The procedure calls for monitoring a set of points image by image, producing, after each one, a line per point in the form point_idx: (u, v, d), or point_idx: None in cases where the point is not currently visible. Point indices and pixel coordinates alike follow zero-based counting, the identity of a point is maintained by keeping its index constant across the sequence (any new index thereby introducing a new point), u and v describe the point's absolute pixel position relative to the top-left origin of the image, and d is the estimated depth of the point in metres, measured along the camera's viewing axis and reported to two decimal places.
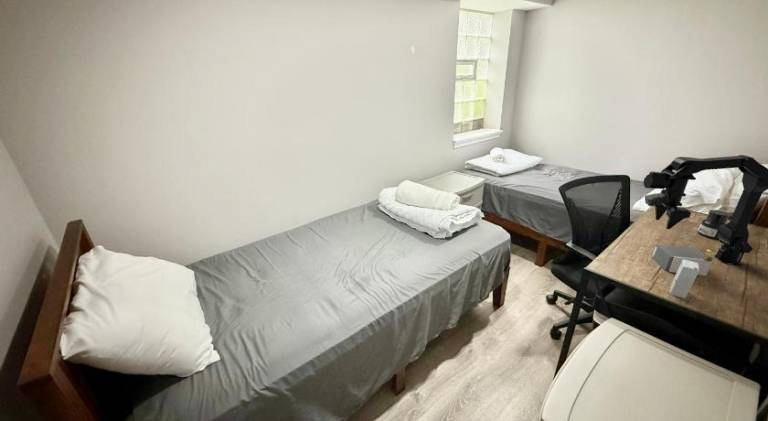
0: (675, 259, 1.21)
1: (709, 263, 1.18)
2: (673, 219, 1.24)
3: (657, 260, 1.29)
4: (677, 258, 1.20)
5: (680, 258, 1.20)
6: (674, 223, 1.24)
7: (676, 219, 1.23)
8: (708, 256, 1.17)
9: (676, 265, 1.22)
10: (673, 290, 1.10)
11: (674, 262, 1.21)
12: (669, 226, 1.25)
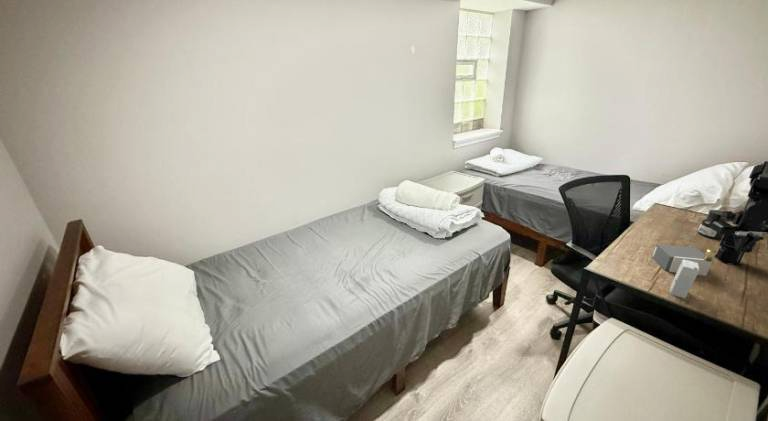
0: (675, 259, 1.21)
1: (709, 263, 1.18)
2: (738, 238, 1.13)
3: (657, 260, 1.29)
4: (677, 258, 1.20)
5: (680, 258, 1.20)
6: (738, 244, 1.13)
7: (740, 239, 1.12)
8: (708, 256, 1.17)
9: (676, 265, 1.22)
10: (673, 290, 1.10)
11: (674, 262, 1.21)
12: (735, 246, 1.14)
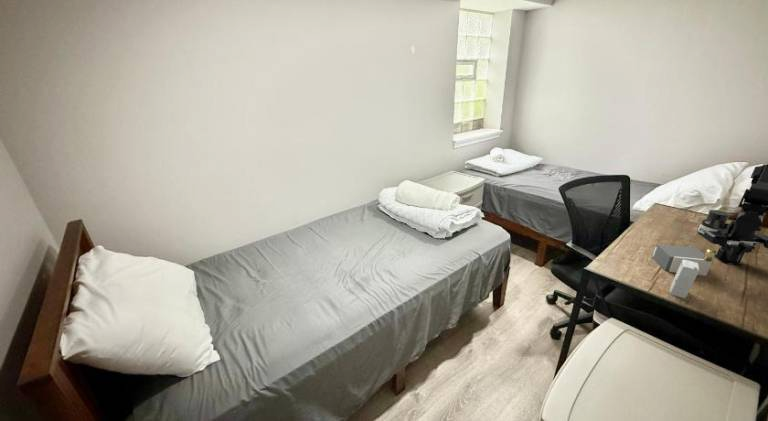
0: (675, 259, 1.21)
1: (709, 263, 1.18)
2: (730, 248, 1.15)
3: (657, 260, 1.29)
4: (677, 258, 1.20)
5: (680, 258, 1.20)
6: (730, 253, 1.15)
7: (731, 248, 1.14)
8: (708, 256, 1.17)
9: (676, 265, 1.22)
10: (673, 290, 1.10)
11: (674, 262, 1.21)
12: (727, 255, 1.16)
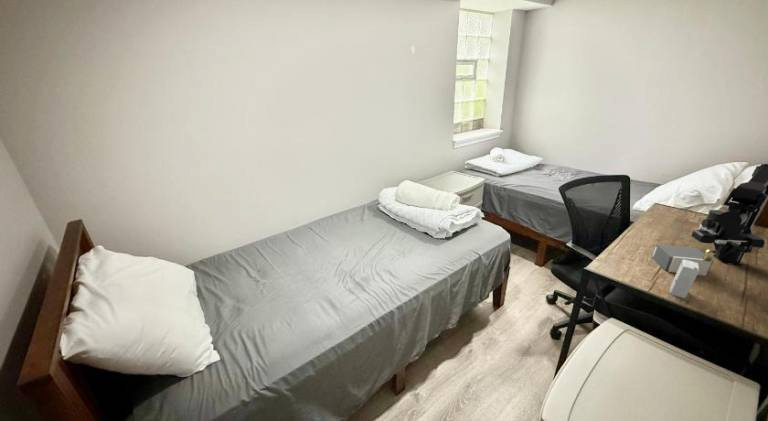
0: (674, 259, 1.21)
1: (708, 263, 1.18)
2: (718, 246, 1.16)
3: (657, 260, 1.29)
4: (676, 258, 1.20)
5: (679, 258, 1.20)
6: (718, 252, 1.15)
7: (720, 247, 1.15)
8: (707, 256, 1.17)
9: (675, 265, 1.22)
10: (673, 290, 1.10)
11: (673, 262, 1.21)
12: (716, 254, 1.17)
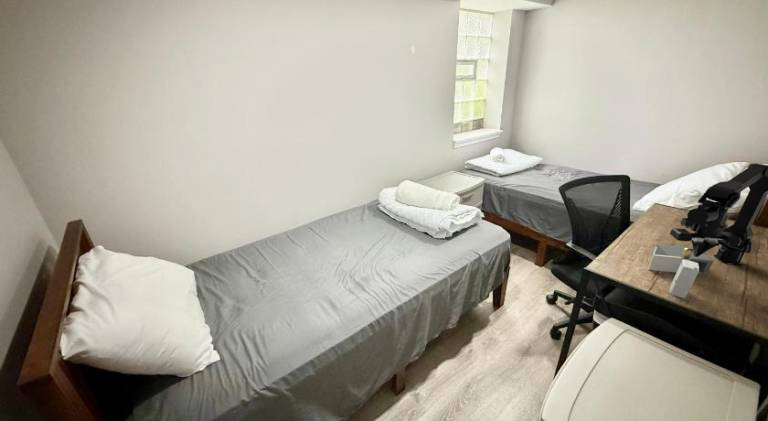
0: (654, 257, 1.22)
1: None
2: (696, 244, 1.17)
3: None
4: (655, 256, 1.22)
5: (658, 256, 1.22)
6: (696, 249, 1.17)
7: (697, 245, 1.16)
8: (685, 254, 1.19)
9: (655, 263, 1.23)
10: (673, 290, 1.10)
11: (653, 260, 1.23)
12: (694, 252, 1.19)
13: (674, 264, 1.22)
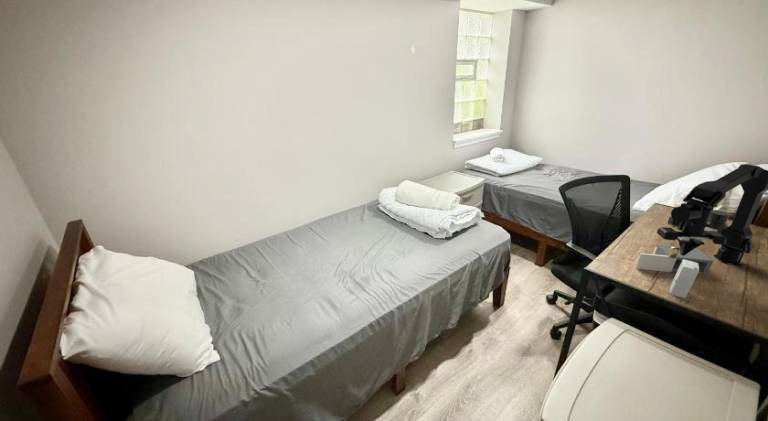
0: (641, 256, 1.23)
1: (673, 260, 1.21)
2: (682, 243, 1.18)
3: None
4: (643, 255, 1.23)
5: (646, 255, 1.23)
6: (682, 248, 1.18)
7: (683, 244, 1.17)
8: (672, 253, 1.20)
9: (642, 262, 1.24)
10: (673, 290, 1.10)
11: (640, 259, 1.24)
12: (680, 251, 1.20)
13: (661, 263, 1.23)
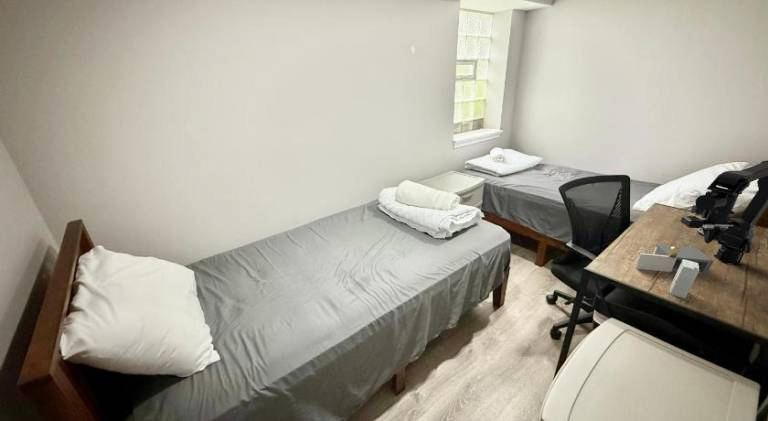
0: (641, 256, 1.23)
1: (673, 260, 1.21)
2: (707, 231, 1.20)
3: None
4: (643, 255, 1.23)
5: (645, 255, 1.23)
6: (707, 236, 1.19)
7: (708, 232, 1.19)
8: (671, 253, 1.20)
9: (642, 262, 1.24)
10: (673, 290, 1.10)
11: (640, 259, 1.24)
12: (705, 239, 1.21)
13: (661, 263, 1.23)
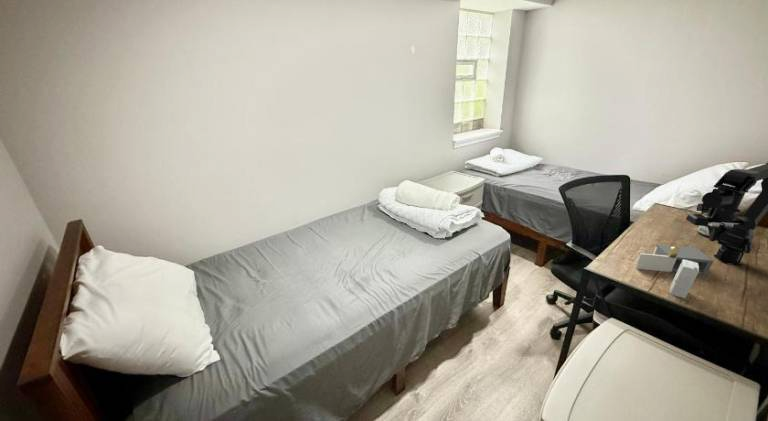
0: (641, 256, 1.23)
1: (673, 260, 1.21)
2: (712, 229, 1.20)
3: None
4: (643, 255, 1.23)
5: (645, 255, 1.23)
6: (712, 234, 1.20)
7: (713, 230, 1.19)
8: (671, 253, 1.20)
9: (642, 262, 1.24)
10: (673, 290, 1.10)
11: (640, 259, 1.24)
12: (710, 237, 1.21)
13: (661, 263, 1.23)
